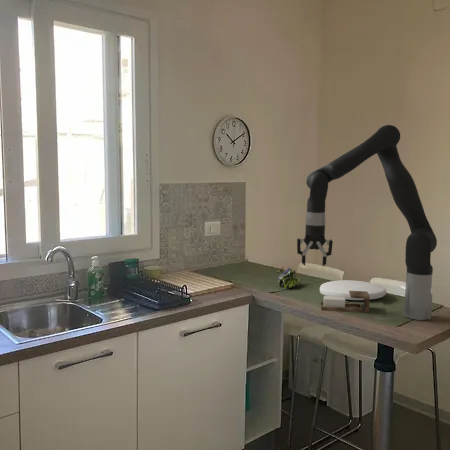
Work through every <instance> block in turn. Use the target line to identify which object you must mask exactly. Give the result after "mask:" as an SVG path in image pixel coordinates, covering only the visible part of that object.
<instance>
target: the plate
mask: <svg viewBox="0 0 450 450" xmlns="http://www.w3.org/2000/svg"><path fill="white" fill-rule="evenodd" d="M349 291H366V292H368V294H369V296H370V300H376V299H380V298H383V297H384V296H386V294H387V288H386V287H385V286H383V285H380V284H377V283H373V282H368V281H361V280H350V279H344V280H332V281H327V282H324V283H322V284H320V286H319V293H320V295H322V296H336V297H344V298H345V300H346V301H348V300H350V301H364V299H360V298H351V296H350V293H349Z"/></svg>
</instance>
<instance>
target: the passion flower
mask: <svg viewBox="0 0 450 450" xmlns="http://www.w3.org/2000/svg"><path fill="white" fill-rule="evenodd" d="M284 268H285V267H283V266H282V267H281V268H278V269H279V270H277V272H276V274H279V273H281V274H280V275H279V276H278V277H277V281H278V283H277V285H278V286H279V287H281V286H282V285H283V284H284V285H283V286H284V287H283V288H284V289H285V290H287V289H290V288H294V287H296V288H297V287H298V286H297V283H298V284H300V285H301V284H302V283H301V280H300V279H301V277H298V278H296V270H295V268H294V266H291V267H288V269H285V270H284V271H283V269H284Z"/></svg>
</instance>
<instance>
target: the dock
mask: <svg viewBox="0 0 450 450" xmlns="http://www.w3.org/2000/svg"><path fill="white" fill-rule="evenodd" d="M349 293H350V296H351V298H360V299H364V300H363V303H362V304H361V303H355V302H354V303H352V302H345V308H340V307H324V306H323V304H324V301H320V310H321V311H330V312H341V313H342V312H343V313H344V312H345V313H346V312H347V313H360V314H361V313H363V314H369V313H370V296H369V294H368V292H366V291H349Z"/></svg>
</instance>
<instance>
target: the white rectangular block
mask: <svg viewBox="0 0 450 450" xmlns="http://www.w3.org/2000/svg"><path fill="white" fill-rule="evenodd" d="M323 302H324V304H323V306H324V307H340V308H345V303H346V299H345V298H344V297H336V296H325V295H323Z"/></svg>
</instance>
